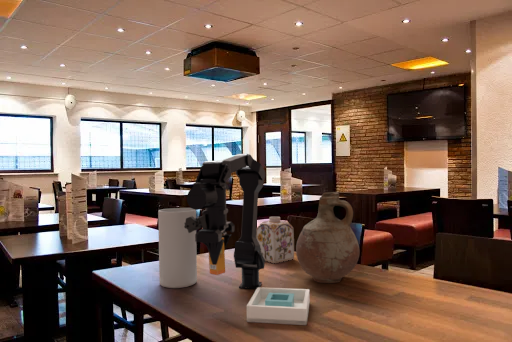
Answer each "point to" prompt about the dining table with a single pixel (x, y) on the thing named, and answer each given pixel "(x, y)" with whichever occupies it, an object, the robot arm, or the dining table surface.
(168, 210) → the cylinder vase
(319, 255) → the jug
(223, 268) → the supplement box
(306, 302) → the walled tray
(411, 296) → the dining table surface
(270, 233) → the decorative jar
